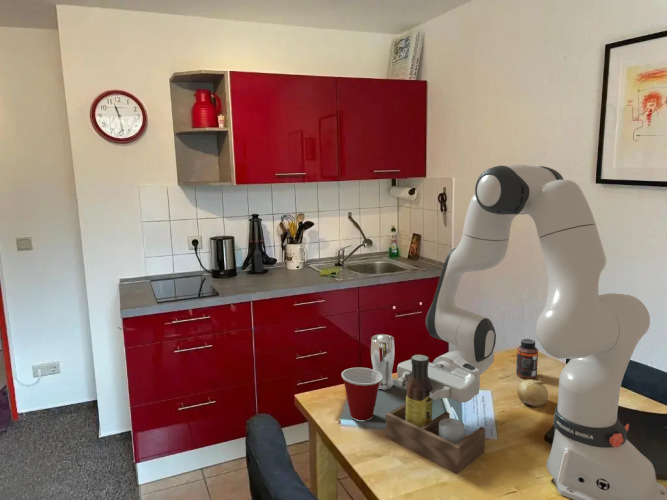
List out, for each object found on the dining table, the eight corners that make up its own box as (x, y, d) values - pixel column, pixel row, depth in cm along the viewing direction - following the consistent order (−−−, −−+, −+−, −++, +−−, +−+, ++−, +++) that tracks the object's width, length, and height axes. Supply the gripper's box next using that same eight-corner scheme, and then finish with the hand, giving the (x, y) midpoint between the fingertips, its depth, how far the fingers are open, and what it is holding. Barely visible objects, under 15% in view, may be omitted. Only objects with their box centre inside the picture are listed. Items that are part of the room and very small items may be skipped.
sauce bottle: (431, 445, 116) (434, 364, 113) (404, 442, 118) (406, 362, 114) (431, 430, 123) (434, 353, 119) (405, 427, 124) (407, 351, 120)
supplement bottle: (539, 379, 151) (542, 344, 149) (520, 380, 151) (521, 344, 149) (532, 371, 157) (534, 337, 155) (513, 371, 157) (515, 337, 155)
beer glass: (398, 383, 150) (398, 336, 148) (388, 393, 145) (388, 344, 142) (377, 378, 154) (377, 332, 151) (367, 387, 148) (366, 339, 146)
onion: (530, 412, 132) (532, 387, 131) (510, 399, 140) (511, 375, 138) (554, 406, 135) (555, 382, 134) (532, 393, 142) (534, 370, 141)
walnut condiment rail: (484, 456, 113) (485, 428, 112) (456, 478, 106) (457, 448, 105) (414, 423, 128) (414, 398, 127) (385, 440, 121) (385, 414, 119)
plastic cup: (391, 419, 130) (391, 376, 128) (356, 431, 125) (356, 387, 123) (367, 402, 139) (367, 362, 137) (334, 413, 134) (333, 371, 132)
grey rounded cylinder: (468, 452, 113) (469, 424, 112) (454, 463, 110) (455, 434, 108) (447, 443, 117) (448, 415, 116) (433, 452, 114) (433, 424, 112)
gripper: (416, 349, 134) (382, 364, 124) (485, 371, 119) (452, 391, 110) (416, 371, 135) (382, 387, 125) (484, 396, 120) (451, 417, 111)
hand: (415, 389), depth 117 cm, fingers open, 8 cm apart
